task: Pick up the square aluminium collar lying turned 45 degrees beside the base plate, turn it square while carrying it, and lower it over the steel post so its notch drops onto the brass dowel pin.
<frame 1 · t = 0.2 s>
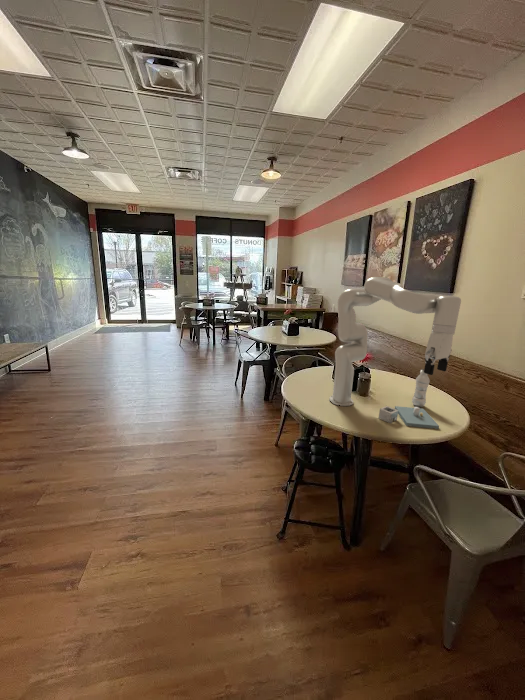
hand: (434, 372, 114), 31 cm above the table, tool pointing down, fingers open, 9 cm apart
base plate: (415, 418, 142), on the table
plastic bottle: (417, 405, 157), on the table
collar: (387, 419, 140), on the table
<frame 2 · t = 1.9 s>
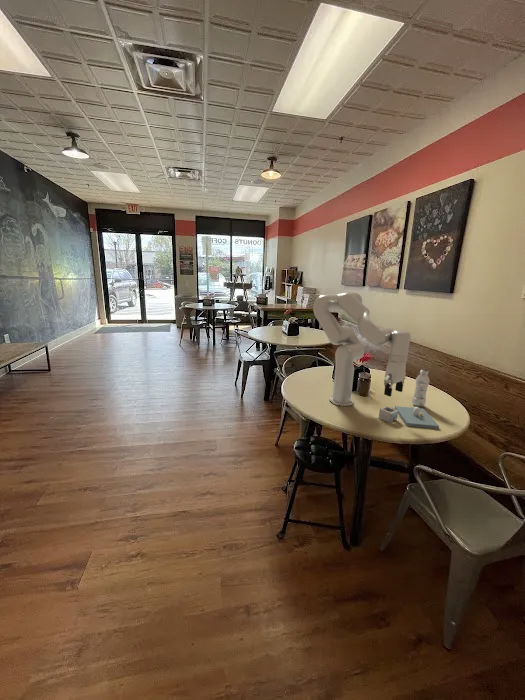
hand: (393, 393, 136), 14 cm above the table, tool pointing down, fingers open, 9 cm apart
nothing on the table moved.
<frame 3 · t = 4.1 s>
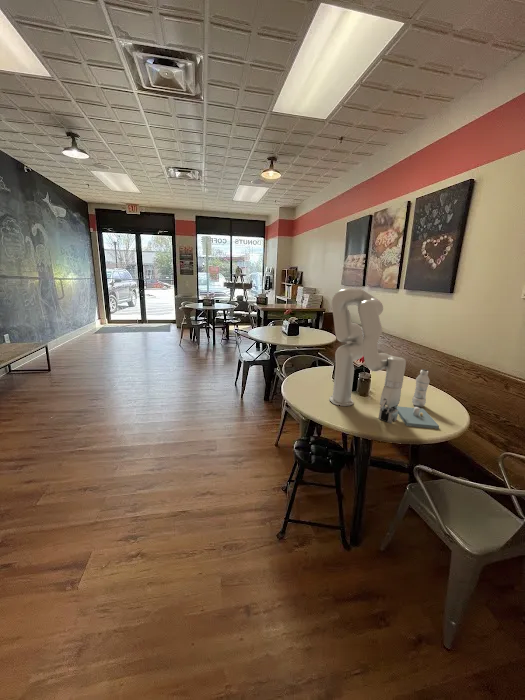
hand: (387, 418, 140), 1 cm above the table, tool pointing down, fingers closed on collar, 6 cm apart
collar: (387, 419, 140), on the table, touching gripper
everything else where it was.
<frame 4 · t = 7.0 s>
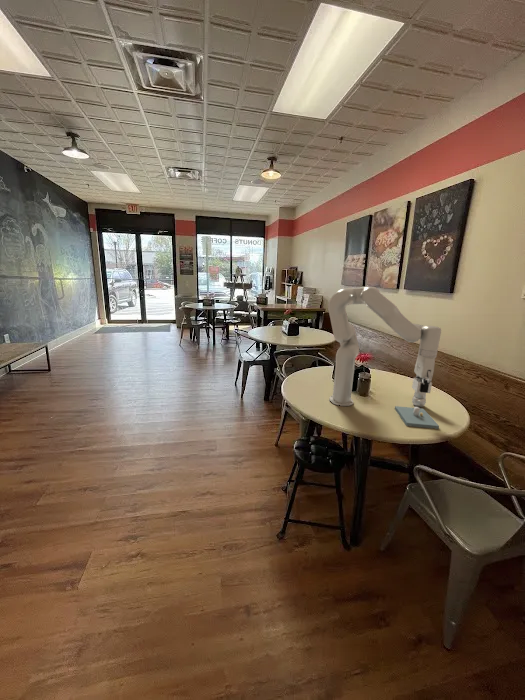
hand: (420, 389, 138), 15 cm above the table, tool pointing down, fingers closed on collar, 6 cm apart
collar: (420, 390, 138), point 15 cm above the table, touching gripper
everything else where it was.
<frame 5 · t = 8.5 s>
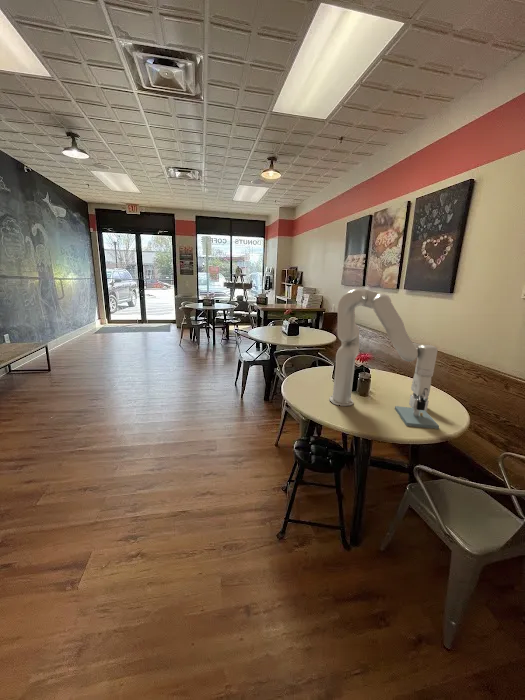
hand: (417, 406, 140), 6 cm above the table, tool pointing down, fingers closed on collar, 6 cm apart
collar: (417, 407, 141), point 6 cm above the table, touching gripper
everything else where it was.
when the fingers open (3 cm above the table, at t = 9.9 s): collar drops 1 cm, resting on base plate.
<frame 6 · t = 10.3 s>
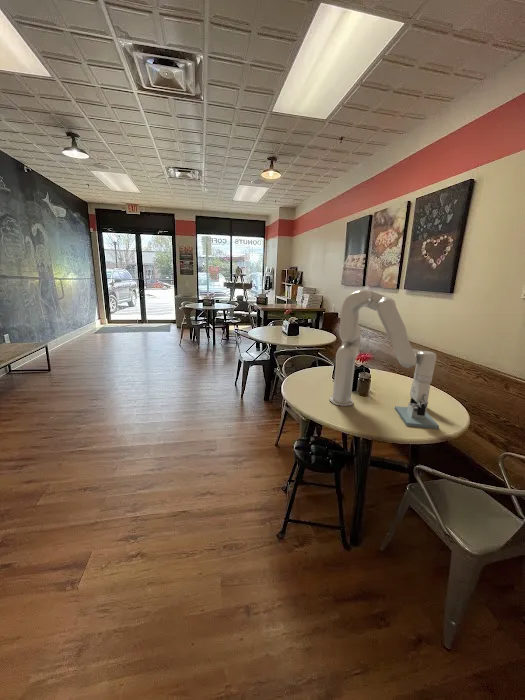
hand: (416, 410, 141), 4 cm above the table, tool pointing down, fingers open, 9 cm apart
collar: (415, 415, 142), point 1 cm above the table, touching base plate
everything else where it was.
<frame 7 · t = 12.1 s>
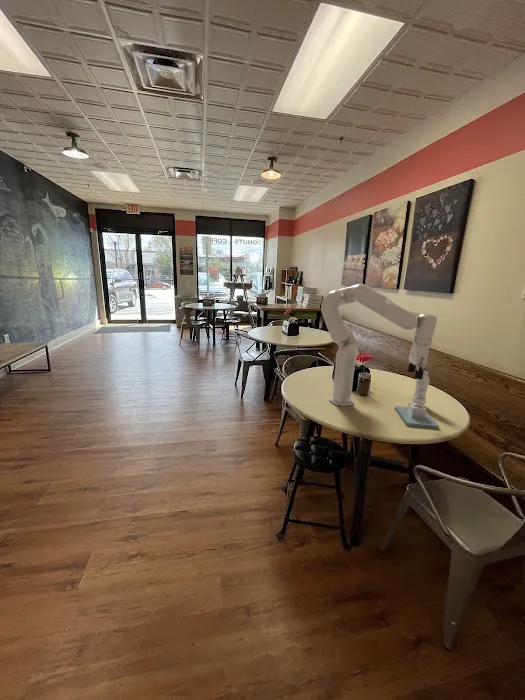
hand: (414, 375, 140), 21 cm above the table, tool pointing down, fingers open, 9 cm apart
nothing on the table moved.
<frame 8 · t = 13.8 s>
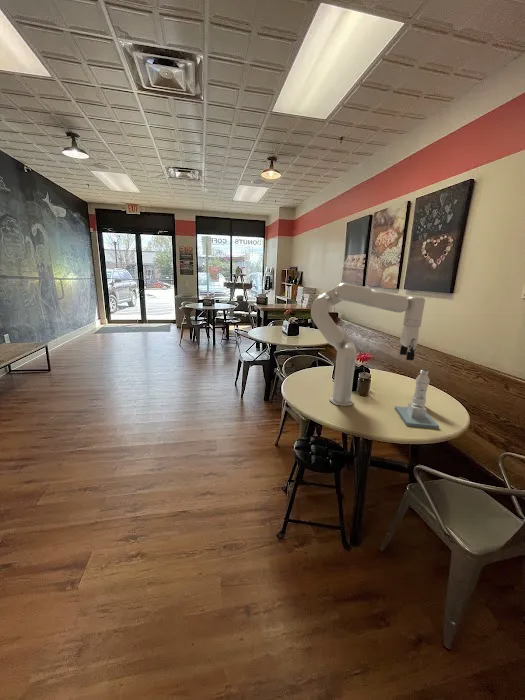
hand: (406, 357, 143), 28 cm above the table, tool pointing down, fingers open, 9 cm apart
nothing on the table moved.
at the end: collar 0.0 cm off-centre on the base plate, point 1.5 cm above the base plate's base; collar tilted 0°; the gripper is holding nothing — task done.
